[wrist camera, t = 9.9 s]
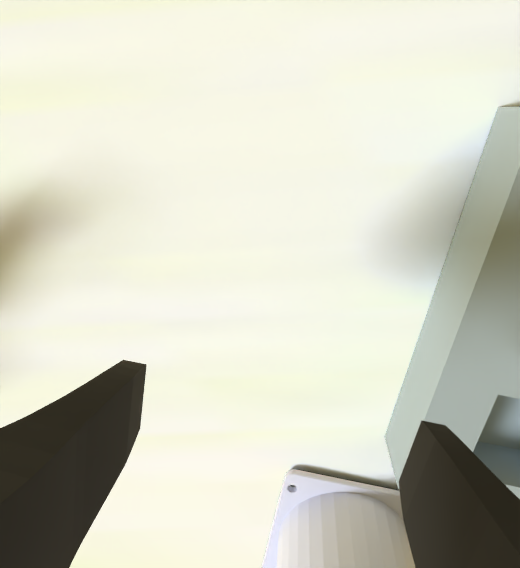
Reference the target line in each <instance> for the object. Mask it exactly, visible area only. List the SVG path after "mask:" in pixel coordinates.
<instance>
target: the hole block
mask: <svg viewBox="0 0 520 568" xmlns="http://www.w3.org/2000/svg"><path fill="white" fill-rule="evenodd" d="M421 420H423V421H427V422H432V423H437V424H442V425H446V426H447V427H448V428H449V429H450V430H451V431H452V432H453V433H454V434H455V435H456V436H457V437H458V438H459V439H460V440H461V441H462V442H463V443H464V444H465V445H466V446H467V447H468V448H469V449H470V450H471V451H472V452H473V453H474V454H475V455H476V456H477V457H478V458H479V459H480V460H481V461H482V462H483V463H484V464H485V465H486V466H487V467H488V468H489V469H490V470H491V471H492V472H493V473H494V474H495V475H496V476H497V477H498V478H499V480H500V481H501V482H502V483H503V484H504V485H506V486H507V487H508V488H509V489H510V490H511V491H512V492H513V493H514V494H515V495H516V496H517V497H518V498H519V499H520V106H519V107H498V109H497V112H496V115H495V118H494V121H493V124H492V127H491V130H490V133H489V135H488V138H487V141H486V144H485V147H484V150H483V153H482V156H481V159H480V162H479V164H478V167H477V170H476V173H475V176H474V179H473V182H472V185H471V188H470V191H469V193H468V196H467V199H466V202H465V205H464V208H463V211H462V214H461V217H460V220H459V223H458V225H457V228H456V231H455V234H454V237H453V240H452V243H451V246H450V249H449V252H448V254H447V257H446V260H445V263H444V266H443V269H442V272H441V275H440V278H439V281H438V283H437V286H436V289H435V292H434V295H433V298H432V301H431V304H430V307H429V310H428V313H427V315H426V318H425V321H424V324H423V327H422V330H421V333H420V336H419V339H418V342H417V344H416V347H415V350H414V353H413V356H412V359H411V362H410V365H409V368H408V371H407V373H406V376H405V379H404V382H403V385H402V388H401V391H400V394H399V397H398V400H397V403H396V405H395V408H394V411H393V414H392V417H391V420H390V423H389V426H388V429H387V432H386V434H385V440H386V444H387V447H388V451H389V455H390V459H391V463H392V467H393V471H394V475H395V479H396V483H397V487H398V489H399V479H400V476H401V474H402V471H403V468H404V466H405V463H406V460H407V458H408V455H409V452H410V450H411V447H412V444H413V442H414V439H415V436H416V434H417V431H418V428H419V426H420V423H421Z"/></svg>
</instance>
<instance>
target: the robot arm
mask: <svg viewBox="0 0 520 568" xmlns="http://www.w3.org/2000/svg"><path fill="white" fill-rule="evenodd" d="M145 374H146V364H141V363H136V362H131V361H126V360H123V361H121V362H119V363H118V364H116V365H114V366H113V367H111V368H110V369H108V370H106V371H105V372H103V373H102V374H100V375H98V376H97V377H95V378H94V379H92V380H90V381H89V382H87V383H86V384H84V385H82V386H81V387H79V388H77V389H76V390H74V391H72V392H71V393H69V394H67V395H66V396H64V397H62V398H60V399H58V400H56V401H55V402H53V403H51V404H49V405H47V406H45V407H43V408H42V409H40V410H38V411H36V412H34V413H32V414H30V415H28V416H26V417H24V418H22V419H20V420H18V421H16V422H14V423H11V424H9V425H7V426H5V427H2V428H0V568H69V567H70V565H71V562H72V560H73V558H74V556H75V554H76V552H77V550H78V549H79V547H80V545H81V543H82V541H83V539H84V537H85V536H86V534H87V532H88V530H89V528H90V527H91V525H92V523H93V521H94V519H95V518H96V516H97V514H98V512H99V511H100V509H101V507H102V505H103V503H104V502H105V500H106V498H107V496H108V495H109V493H110V491H111V489H112V487H113V486H114V484H115V482H116V480H117V478H118V477H119V475H120V473H121V471H122V469H123V467H124V466H125V464H126V462H127V459H128V457H129V454H130V452H131V450H132V447H133V445H134V442H135V440H136V437H137V435H138V432H139V430H140V423H141V413H142V403H143V393H144V384H145ZM289 485H294V486H295V487H290V486H289ZM399 490H400V491H398V490H393V489H388V488H384V487H379V486H374V485H369V484H364V483H359V482H354V481H349V480H345V479H340V478H335V477H330V476H325V475H320V474H315V473H310V472H306V471H301V470H295V469H292V470H289V471H287V472H286V474H285V477H284V481H283V484H282V488H281V492H280V496H279V500H278V504H277V508H276V512H275V516H274V520H273V524H272V528H271V531H270V535H269V539H268V543H267V547H266V551H265V555H264V559H263V563H262V567H261V568H520V499H519V498H518V497H517V496H516V495H515V494H514V493H513V492H512V491H511V490H510V489H509V488H508V487H507V486H506V485H504V484H503V483H502V482H501V481H500V480H499V478H498V477H497V476H496V475H495V474H494V473H493V472H492V471H491V470H490V469H489V468H488V467H487V466H486V465H485V464H484V463H483V462H482V461H481V460H480V459H479V458H478V457H477V456H476V455H475V454H474V453H473V452H472V451H471V450H470V449H469V448H468V447H467V446H466V445H465V444H464V443H463V442H462V441H461V440H460V439H459V438H458V437H457V436H456V435H455V434H454V433H453V432H452V431H451V430H450V429H449V428H448V427H447V426H446V425H442V424H437V423H432V422H427V421H423V420H421V423H420V426H419V428H418V431H417V434H416V436H415V439H414V442H413V444H412V447H411V450H410V452H409V455H408V458H407V460H406V463H405V466H404V468H403V471H402V474H401V476H400V479H399Z"/></svg>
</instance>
